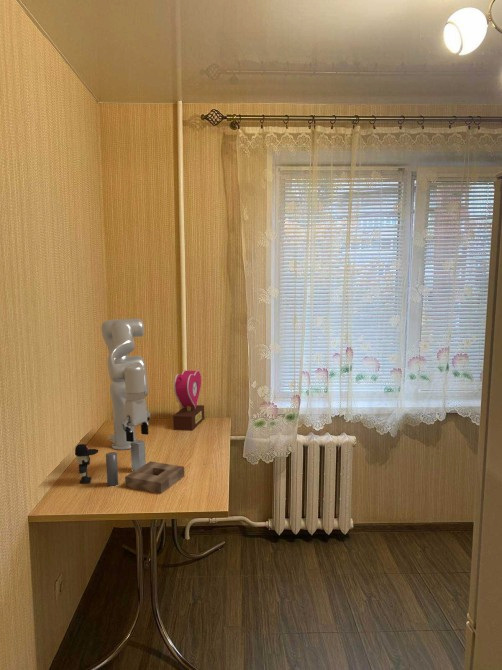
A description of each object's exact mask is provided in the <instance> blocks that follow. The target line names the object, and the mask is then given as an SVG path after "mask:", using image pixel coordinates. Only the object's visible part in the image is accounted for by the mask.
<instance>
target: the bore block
mask: <svg viewBox="0 0 502 670" xmlns="http://www.w3.org/2000/svg"><path fill="white" fill-rule="evenodd" d="M184 477H185V466H181V465H176V464H170V463H163V462H157V461H156V462H155V461H148V462H146V464H145V465H143V466H142V467H140V468H138V469H137V470H135V471H131V472H130V473H129V474H127V475H125V476H124V480H125V483H124V484H125V488H131V489H136V490H140V491H141V490H142V491H145V492H151V493H156V494H161V495H162V494H163V493H164V492H166V491H167V490H168V489H170V488H171V487H172V486H174V485H175V484H176V483H178V482H179V481H181V480H182V479H183V478H184ZM181 478H182V479H181ZM177 481H178V482H177Z"/></svg>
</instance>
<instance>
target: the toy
mask: <svg viewBox="0 0 502 670" xmlns="http://www.w3.org/2000/svg"><path fill="white" fill-rule="evenodd" d="M74 449H75V450H74V455H75V456H76V461H77V462H76V463H77V465H78V474H79V476H80V477H81V478H80V479H79V483H80V484H89V483H91V481H92V476H88V470H89V467H88V466H89V465H90V463H91V456H94V455H96V454H98V453H99V449H97V448H89V446H88V445H87V444H86V443H80V444H77V445H76V446H75V448H74Z"/></svg>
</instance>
